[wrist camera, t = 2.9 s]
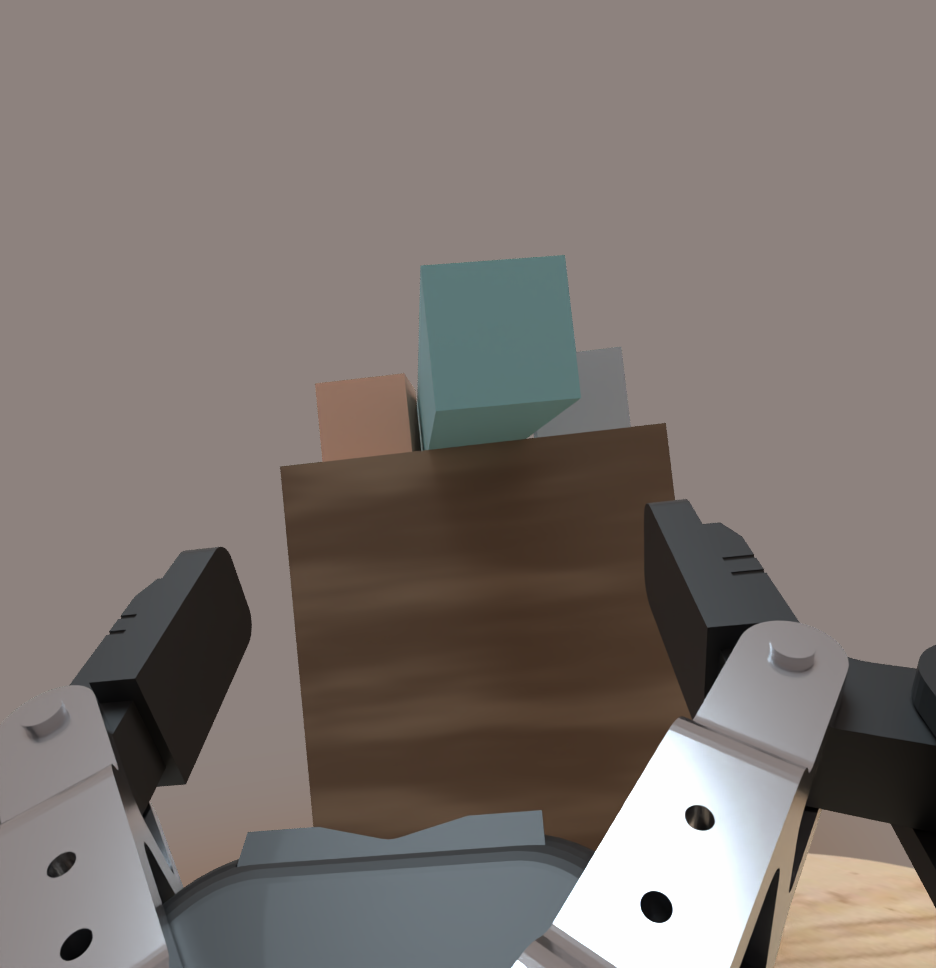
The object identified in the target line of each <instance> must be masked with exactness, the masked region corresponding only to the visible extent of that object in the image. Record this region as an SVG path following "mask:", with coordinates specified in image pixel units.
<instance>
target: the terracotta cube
mask: <svg viewBox="0 0 936 968" xmlns="http://www.w3.org/2000/svg"><path fill="white" fill-rule="evenodd" d="M315 386H316V397H317V407H318V418H319V429H320V439H321V449H322V460H323V462H326V461H335V460H344V459H352V458H361V457H370V456H379V455H388V454H397V453H406V452H414V451H422V450H421V441H420V431H419V421H418V412H417V402H416V393H415V389H414V387H413V386H412V384H411V383H410V381H409V380H408V379H407V377H406V375H405V374H404V373H403V374H395V375H386V376H377V377H368V378H360V379H351V380H342V381H334V382H325V383H316V384H315Z"/></svg>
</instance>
